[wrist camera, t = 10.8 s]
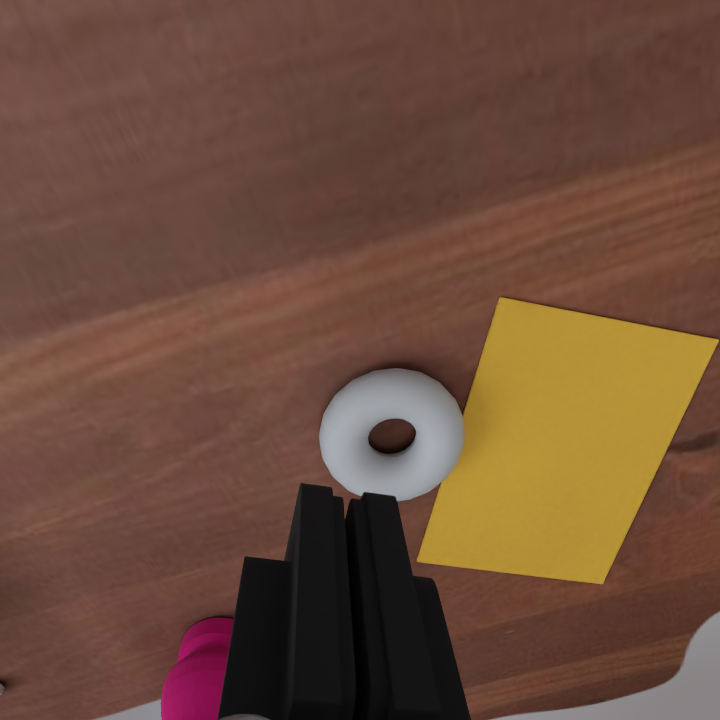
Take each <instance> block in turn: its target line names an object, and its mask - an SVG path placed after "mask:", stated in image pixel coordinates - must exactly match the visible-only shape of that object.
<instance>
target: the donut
mask: <svg viewBox="0 0 720 720" xmlns="http://www.w3.org/2000/svg"><path fill="white" fill-rule="evenodd" d="M394 418H398V419H404V420H406V421H408V422H410V423H411V424H412V425H413V426H414V428H415V430H416V436H415V440H414V441H413V443H412V444H411V445H410V446H409V447H408V448H406V449H405V450H403V451H400V452H398V453H392V454H385V453H380V452H378V451H375V450H374V449H373V448H372V447H371V446H370V445H369V441H368V436H369V433H370V431H371V430H372V428H373V427H374V426H375V425H377V424H378V423H380V422H382V421H384V420H387V419H394ZM319 440H320V447H321V454H322V458H323V460H324V462H325V464H326V466H327V467H328V469H329V471H330V473H331V475H332V476H333V477H334V478H335V479H336V480H337V481H338V482H339V483H341V484H342V485H343V486H344V487H345V488H346V489H347V490H349V491H350V492H353V493H355V494H357V495H359V496H362V495H363V493H364V492H370V493H377V494H384V495H392V496H395V497H396V500H397V501H402V500H410V499H412V498H415V497H417V496H420V495H422V494H425V493H427V492H429V491H430V490H432V489H433V488H434V487H436V486H437V485H438V484H440V483H441V482H442V481H444V480H445V479H446V478H447V476H448V475H449V473H450V472H451V471H452V469H453V468H454V467H455V465H456V464H457V462H458V460H459V457H460V454H461V451H462V448H463V445H464V442H465V436H464V419H463V416H462V413H461V411H460V409H459V406H458V404H457V402H456V399H455V398H454V397H453V396H452V395H451V394H450V393H449V392H448V391H447V390H446V389H445V388H444V387H443V386H442V384H441V383H440V382H438V381H436V380H434V379H433V378H431V377H429V376H427V375H425V374H423V373H421V372H418V371H412V370H406V369H401V368H392V369H384V370H376V371H372V372H370V373H367V374H365V375H363V376H360V377H358V378H356V379H353V380H352V381H351V382H350V383H348V384H347V385H346V386H345V387H344V388H342V389H341V390H340V391H339V392H338V393H336V394H335V396H334V397H333V399H332V401H331V402H330V404H329V406H328V407H327V409H326V410H325V412H324V415H323V419H322V424H321V428H320V433H319Z"/></svg>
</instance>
